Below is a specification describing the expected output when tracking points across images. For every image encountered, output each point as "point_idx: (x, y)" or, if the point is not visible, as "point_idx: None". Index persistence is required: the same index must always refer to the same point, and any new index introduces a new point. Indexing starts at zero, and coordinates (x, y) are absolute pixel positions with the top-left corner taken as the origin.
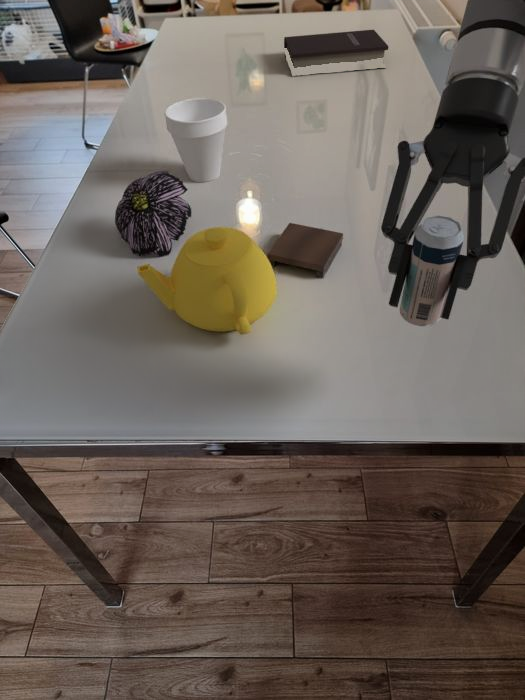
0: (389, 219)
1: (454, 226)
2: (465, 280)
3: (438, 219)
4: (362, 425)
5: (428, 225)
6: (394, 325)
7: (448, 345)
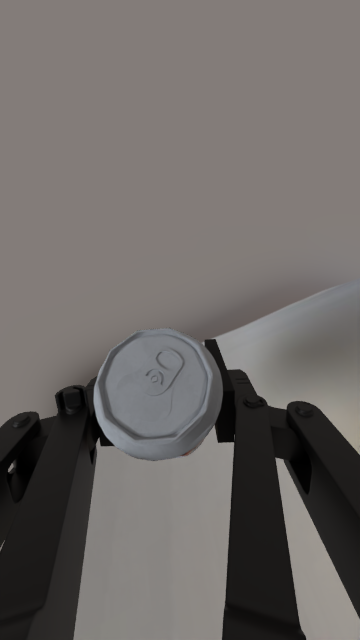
0: (315, 426)
1: (118, 400)
2: None
3: (169, 424)
4: None
5: (190, 376)
6: (221, 538)
7: (141, 523)
